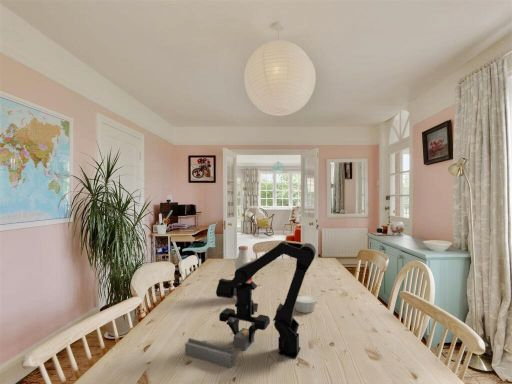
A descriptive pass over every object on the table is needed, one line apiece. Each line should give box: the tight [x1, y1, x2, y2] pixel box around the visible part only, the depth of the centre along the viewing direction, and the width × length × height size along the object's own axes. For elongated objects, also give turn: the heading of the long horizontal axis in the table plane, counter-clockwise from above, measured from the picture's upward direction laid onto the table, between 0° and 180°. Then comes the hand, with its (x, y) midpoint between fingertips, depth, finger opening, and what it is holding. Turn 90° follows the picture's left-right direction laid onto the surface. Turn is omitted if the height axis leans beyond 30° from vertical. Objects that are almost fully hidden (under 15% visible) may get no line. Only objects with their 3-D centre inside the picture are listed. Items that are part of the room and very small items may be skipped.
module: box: [233, 327, 255, 352], centre depth 99 cm, size 5×7×5 cm
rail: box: [184, 337, 235, 369], centre depth 92 cm, size 18×6×5 cm, turn 67°
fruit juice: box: [234, 245, 253, 302], centre depth 142 cm, size 9×9×28 cm
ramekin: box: [294, 294, 317, 314], centre depth 129 cm, size 11×11×5 cm
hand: (244, 341), depth 99 cm, fingers closed on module, 5 cm apart
